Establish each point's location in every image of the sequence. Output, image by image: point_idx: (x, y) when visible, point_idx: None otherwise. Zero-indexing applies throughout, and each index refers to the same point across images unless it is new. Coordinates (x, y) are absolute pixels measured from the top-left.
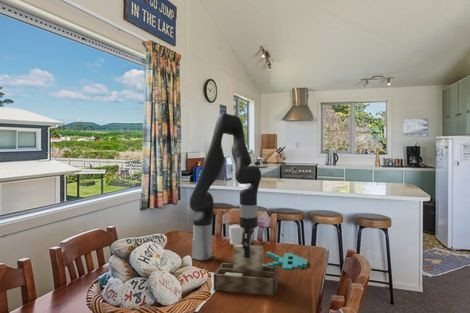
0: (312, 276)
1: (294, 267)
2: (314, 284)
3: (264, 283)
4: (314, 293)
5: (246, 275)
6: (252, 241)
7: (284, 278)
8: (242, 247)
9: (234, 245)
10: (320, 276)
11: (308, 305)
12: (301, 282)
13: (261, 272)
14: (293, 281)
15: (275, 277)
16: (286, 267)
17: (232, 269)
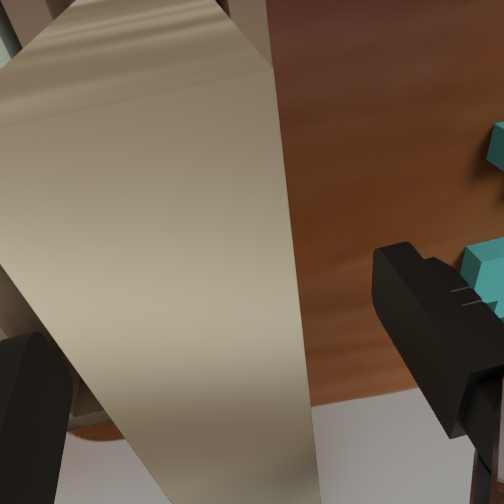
0: (405, 369)
1: (491, 305)
2: (317, 395)
3: None
4: None
5: None
6: (478, 447)
7: (358, 287)
8: (100, 389)
9: (79, 151)
10: (409, 388)
11: (103, 432)
12: (325, 357)
13: None
14: (328, 330)
15: (102, 420)
16: (480, 282)
17: (10, 17)
